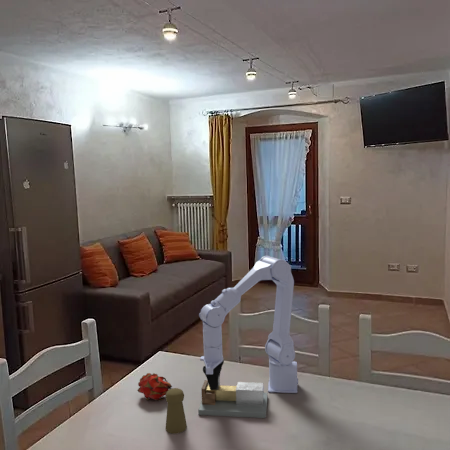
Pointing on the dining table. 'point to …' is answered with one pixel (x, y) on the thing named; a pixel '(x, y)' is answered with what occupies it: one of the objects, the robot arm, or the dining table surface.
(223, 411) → the slate board
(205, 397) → the walnut socket
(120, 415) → the dining table surface
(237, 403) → the aluminium sleeve
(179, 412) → the olive green pawn
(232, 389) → the brushed brass bar
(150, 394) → the dragon fruit
